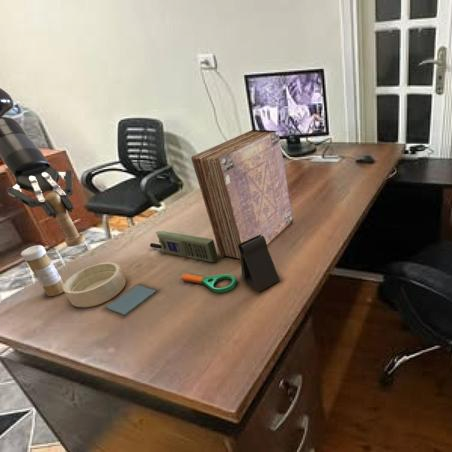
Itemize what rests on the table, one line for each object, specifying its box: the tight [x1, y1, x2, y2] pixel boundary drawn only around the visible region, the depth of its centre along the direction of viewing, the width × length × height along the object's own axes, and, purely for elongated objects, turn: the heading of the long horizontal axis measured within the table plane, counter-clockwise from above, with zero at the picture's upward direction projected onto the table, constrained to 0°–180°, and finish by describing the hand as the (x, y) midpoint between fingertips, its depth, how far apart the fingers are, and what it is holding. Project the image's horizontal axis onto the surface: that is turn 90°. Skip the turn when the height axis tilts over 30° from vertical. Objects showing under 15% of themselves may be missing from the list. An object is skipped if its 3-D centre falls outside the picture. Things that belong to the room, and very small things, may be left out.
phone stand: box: [238, 234, 280, 293], centre depth 87 cm, size 9×6×12 cm, turn 40°
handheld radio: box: [149, 230, 219, 263], centre depth 102 cm, size 7×3×25 cm
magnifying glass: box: [181, 273, 237, 294], centre depth 90 cm, size 15×6×2 cm, turn 72°
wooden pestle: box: [44, 191, 86, 247], centre depth 86 cm, size 4×4×14 cm
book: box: [191, 129, 294, 260], centre depth 101 cm, size 25×9×30 cm, turn 154°
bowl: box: [63, 261, 127, 308], centre depth 90 cm, size 13×13×5 cm
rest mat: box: [105, 284, 157, 316], centre depth 87 cm, size 9×7×1 cm
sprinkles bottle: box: [20, 244, 65, 297], centre depth 90 cm, size 5×5×14 cm
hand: (62, 213), depth 84 cm, fingers closed on wooden pestle, 2 cm apart
